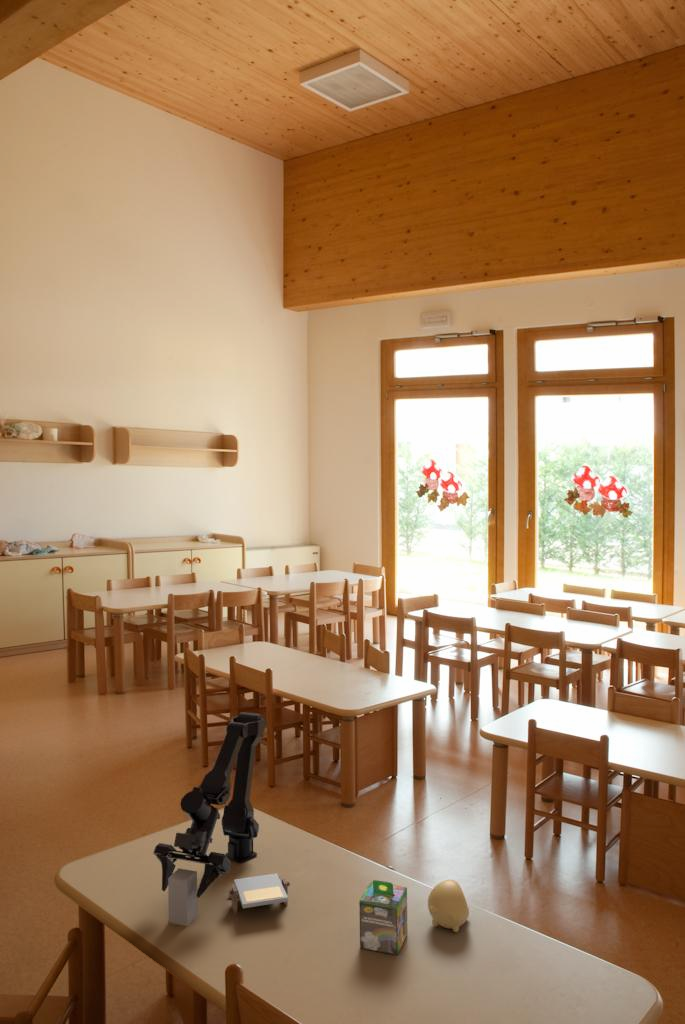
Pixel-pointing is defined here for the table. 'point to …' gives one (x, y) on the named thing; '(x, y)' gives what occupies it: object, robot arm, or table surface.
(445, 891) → the toy pig
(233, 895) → the trapdoor frame
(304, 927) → the table surface
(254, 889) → the trapdoor
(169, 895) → the tall grey rectangular block
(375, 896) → the chalk box
